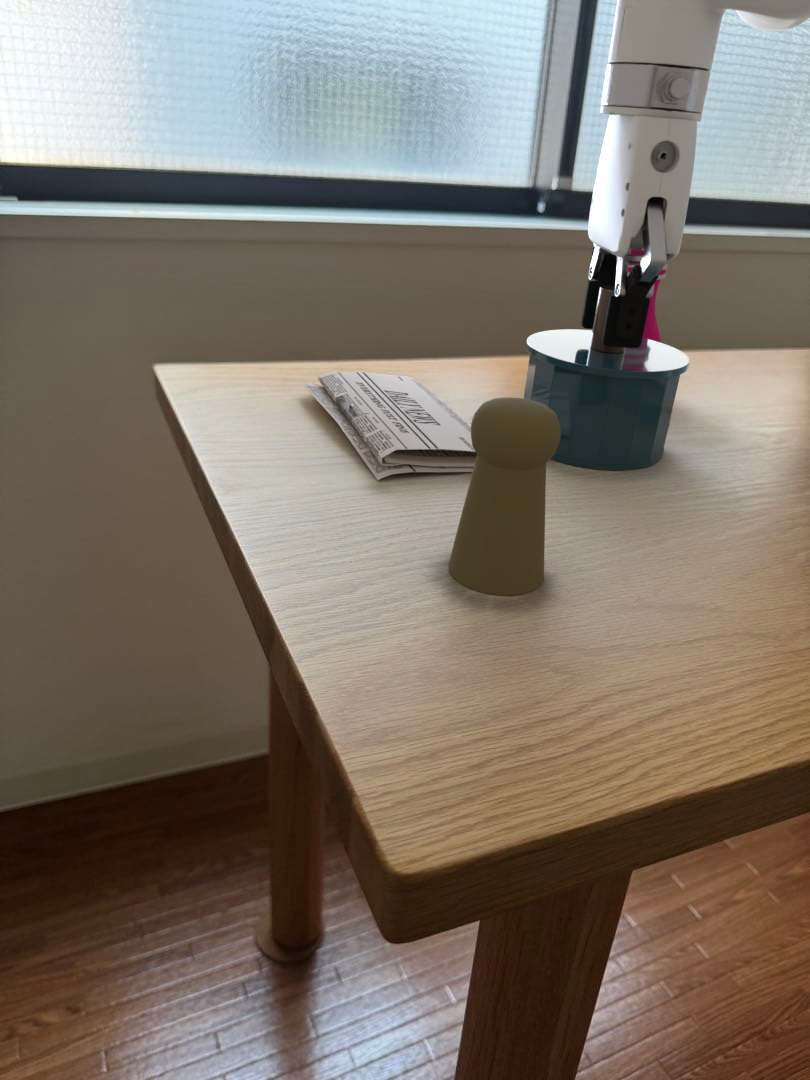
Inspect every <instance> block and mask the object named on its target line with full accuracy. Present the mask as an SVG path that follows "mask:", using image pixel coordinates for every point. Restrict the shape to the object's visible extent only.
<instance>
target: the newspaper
mask: <svg viewBox="0 0 810 1080" xmlns="http://www.w3.org/2000/svg"><path fill="white" fill-rule="evenodd" d="M317 377H318V378H317V379H318V382H319V383H320V384H321V385H319V384H316V383H311V382H303V383H301V384H302V386H303V387H304V388H305V389H306V390H307V391H308V392H309V394H311V396H312V397H313V398H314V400H316V401H317V402H318V403H319V404H320V405H321V406H322V408H323V409H324V410H325V411H326V412H327V413H328V414H329V415H330V416H331V417H332V419H334V421H335V422H336V423H337V425H338V426H339V427H340V429H341V430H342V432H343V433H344V435H345V436H346V437H347V439H348V440H349V442H350V443H351V445H352V446H353V447H354V448H355V451H356V452H357V453H358V454H359V456H360V458H361V459H362V460H363V462H364V463H365V465H366V466H367V467H368V469H369V470H370V472H371V473H372V475H373V476H374V477H375V479H376V480H377V481H380V480H382V479H384V478H387V477H389V476H392V475H398V474H407V473H472V472H473V469H474V465H475V461H476V457H477V453H476V451H475V450H474V448H473V446H472V440H471V425H469V424H468V423H467V422H466V421H465V420H464V419H463V418H461V417H460V416H459V415H458V414H457V413H455V412H454V411H453V409H451V408H450V407H448V405H447V404H445V403H444V402H443V401H442V400H441V399H440V398H438V397H437V396H436V395H435V394H434V393H433V392H431V390H429V389H428V388H427V387H426V385H423V383H421V382H420V381H419V380H418V379H416V378H413V377H411V376H409V375H408V376H407V375H397V374H387V373H379V372H368V371H328V372H325V373H322V374H319V375H317Z"/></svg>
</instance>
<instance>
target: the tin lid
mask: <svg viewBox="0 0 810 1080" xmlns="http://www.w3.org/2000/svg"><path fill="white" fill-rule="evenodd" d="M609 295H615V286H614V285H604V286H600V289H599V294H598V300H597V306H596V312H595V317H594V323H593V329H578V328H577V329H573V328H565V329H564V328H563V329H549V330H543V331H539V332H535V333H533V334H531V335H529V336H528V337H527V339H526V341H525V342H526V344H525V349H526V351H527V352H528V353H529V355H530V354H531V355H533V356H534V357H536V358H538V359H540V360H542V361H544V362H547V363H549V364H552V365H555V366H558V367H562V368H565V369H569V370H573V371H578V372H583V373H588V374H594V375H600V376H608V377H617V378H630V379H657V378H667V377H673V376H677V375H680V376H681V375H683V374H684V373H686V372H687V371H688V370H689V368H690V367H689V366H690V362H691V360H690V357H689V356H688V355H687V354H686V353H684V352H683V351H682V350H680V349H678V348H676V347H673V346H672V345H669V344H665V343H662V342H661V343H660V342H657V341H653V340H649V339H645V338H642V343H641V346H640V347H638V348H624V347H607V346H605V345H603V344H602V342H601V341H602V334H603V329H604V323H605V318H606V312H607V307H608V301H609Z"/></svg>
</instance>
